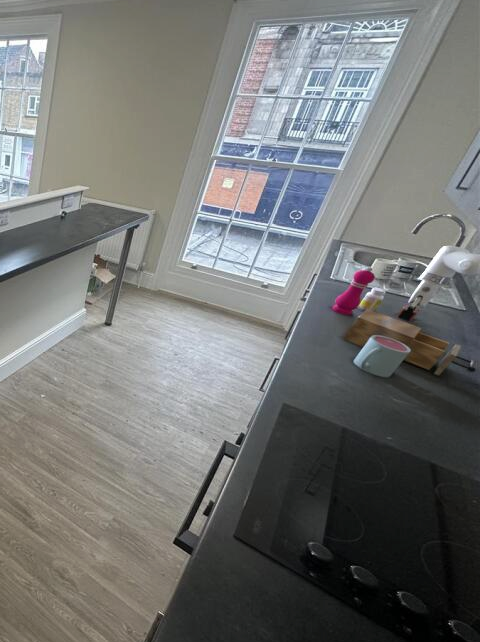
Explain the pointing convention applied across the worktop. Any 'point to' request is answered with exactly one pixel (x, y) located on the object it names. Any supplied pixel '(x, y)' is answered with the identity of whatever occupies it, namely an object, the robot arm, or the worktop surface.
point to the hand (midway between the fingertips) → (404, 317)
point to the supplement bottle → (372, 300)
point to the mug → (381, 355)
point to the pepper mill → (353, 292)
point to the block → (412, 316)
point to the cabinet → (380, 329)
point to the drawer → (434, 354)
